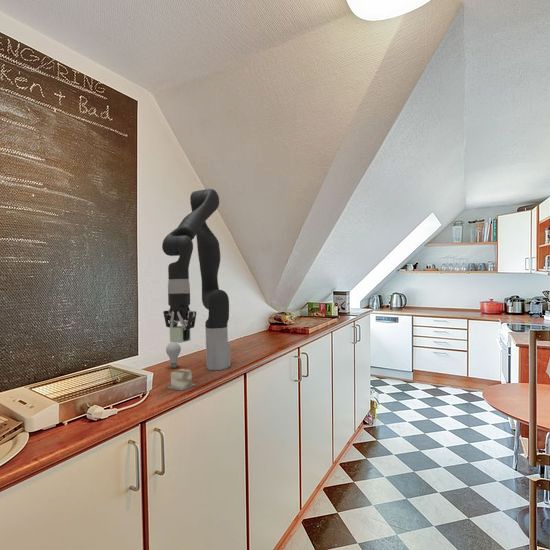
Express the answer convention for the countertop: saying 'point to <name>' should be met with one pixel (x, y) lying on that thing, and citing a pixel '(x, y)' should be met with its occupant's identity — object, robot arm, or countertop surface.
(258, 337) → the countertop surface
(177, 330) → the sage block
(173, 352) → the lightbulb
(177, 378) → the birch block
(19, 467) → the countertop surface
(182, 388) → the build tile
